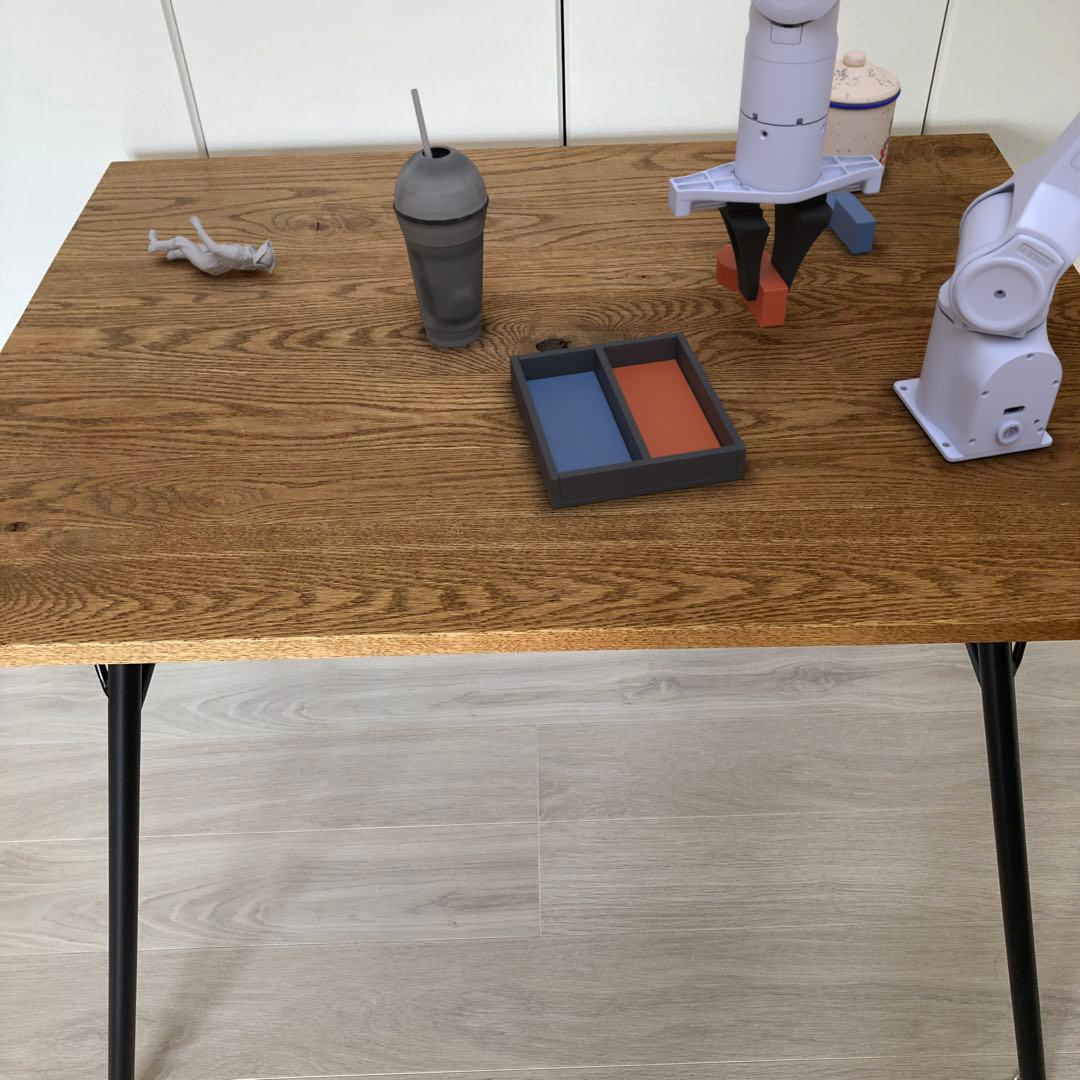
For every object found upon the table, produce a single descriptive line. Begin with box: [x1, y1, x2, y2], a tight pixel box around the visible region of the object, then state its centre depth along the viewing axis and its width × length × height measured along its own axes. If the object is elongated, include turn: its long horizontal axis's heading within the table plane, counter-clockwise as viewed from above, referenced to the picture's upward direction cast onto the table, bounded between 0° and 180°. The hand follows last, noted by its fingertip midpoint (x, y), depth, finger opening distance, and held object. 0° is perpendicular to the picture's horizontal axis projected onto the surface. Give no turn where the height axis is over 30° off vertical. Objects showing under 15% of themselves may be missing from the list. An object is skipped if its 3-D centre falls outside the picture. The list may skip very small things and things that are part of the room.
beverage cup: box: [392, 88, 490, 348], centre depth 90 cm, size 7×7×20 cm
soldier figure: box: [148, 215, 276, 276], centre depth 104 cm, size 8×5×12 cm
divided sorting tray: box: [509, 331, 747, 510], centre depth 86 cm, size 15×14×3 cm
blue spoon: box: [826, 192, 877, 255], centre depth 106 cm, size 9×4×3 cm, turn 12°
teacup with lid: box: [823, 49, 902, 193], centre depth 113 cm, size 12×9×12 cm
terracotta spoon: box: [715, 244, 789, 328], centre depth 87 cm, size 9×4×3 cm, turn 11°
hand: (763, 291), depth 86 cm, fingers closed on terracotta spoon, 2 cm apart
